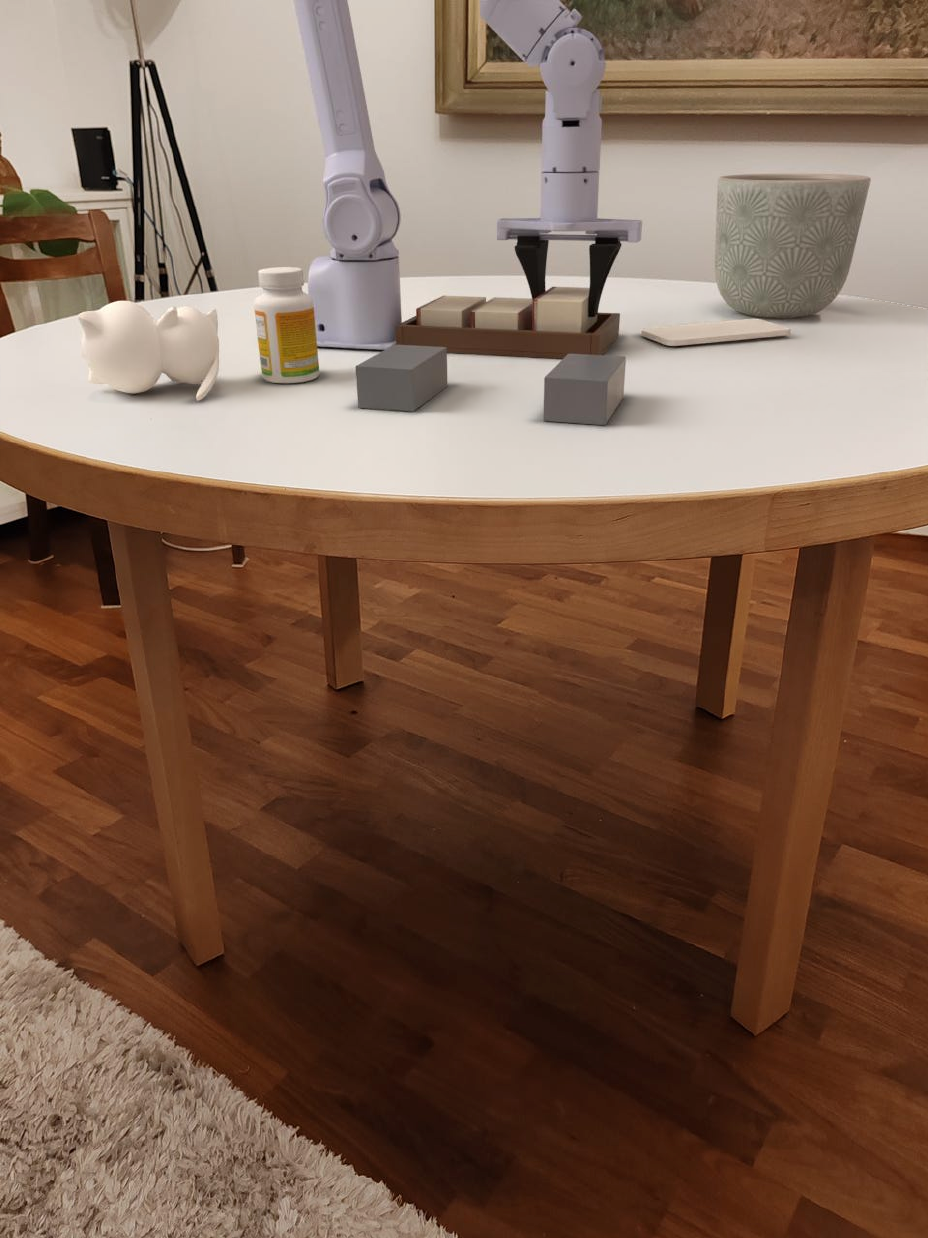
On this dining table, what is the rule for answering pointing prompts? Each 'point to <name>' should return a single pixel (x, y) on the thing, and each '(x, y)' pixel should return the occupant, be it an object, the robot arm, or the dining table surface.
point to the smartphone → (714, 332)
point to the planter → (786, 240)
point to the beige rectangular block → (562, 310)
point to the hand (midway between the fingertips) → (565, 314)
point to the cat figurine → (150, 347)
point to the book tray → (513, 339)
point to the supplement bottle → (286, 327)
